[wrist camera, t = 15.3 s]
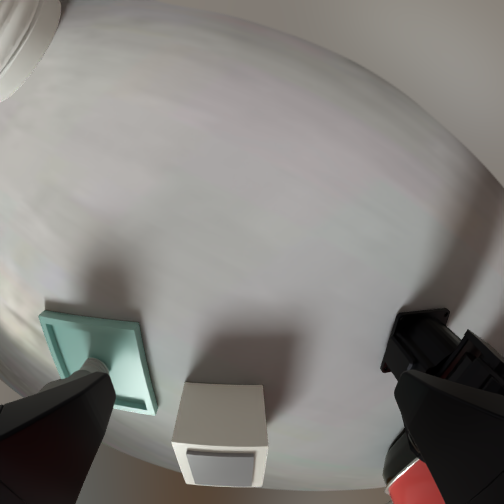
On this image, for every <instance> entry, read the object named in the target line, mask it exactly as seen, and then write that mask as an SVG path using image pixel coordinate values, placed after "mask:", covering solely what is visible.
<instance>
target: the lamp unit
mask: <svg viewBox="0 0 504 504" xmlns="http://www.w3.org/2000/svg"><path fill="white" fill-rule="evenodd" d="M172 445H173V448H174V451H175V454H176V457H177V460H178V463H179V466H180V468H181V471H182V474H183V476H184V479H185V482H186V484H194V485H205V486H221V487H262V484H263V478H264V472H265V466H266V460H267V453H268V447H269V446H268V435H267V425H266V415H265V404H264V394H263V385H225V384H203V383H189V382H185V384H184V388H183V392H182V397H181V401H180V405H179V410H178V414H177V419H176V423H175V428H174V433H173V437H172Z"/></svg>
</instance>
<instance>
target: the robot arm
mask: <svg viewBox="0 0 504 504" xmlns="http://www.w3.org/2000/svg"><path fill="white" fill-rule="evenodd" d="M449 314H450V311H449V310H448V309H447V308H441V309H433V310H423V311H413V312H402V313H399V314H398V315H397V317H396V319H395V323H394V327H393V330H392V333H391V337H390V339H389V342H388V345H387V349H386V352H385V355H384V358H383V362H382V365H381V368H380V369H381V371H382V372H383V373H387V372H392V373H393V374H394V376H395V378H396V379H397V381H398V383H397V385H396V388H395V391H394V396H395V399H396V402H397V404H398V407H399V409H400V411H401V414H402V418H403V422H404V426H405V430H406V435H407V439H408V443H409V447H410V450H411V451H412V452H413V453H414V454H415V455H416V457H417V458H418V459H420V460H421V461H422V462H424V463H426V465H427V467H428V469H429V471H430V473H431V475H432V477H433V479H434V481H435V483H436V485H437V487H438V489H439V491H440V493H441V495H442V498H443V500H444V502H445V504H504V358H503V357H502V356H501V355H500V354H499V353H498V352H497V351H496V350H495V349H493V348H492V347H491V346H490V345H489V344H488V343H487V342H485V341H484V340H482V339H481V338H480V337H478V336H477V335H475V334H474V333H473V332H471V331H470V330H467V331H466V333H465V334H464V335H465V336H464V337H463V339H462V340H461V339H460V338H459V337H458V336H457V335H456V334H455V333H453V332H452V331H451V330H450V329H449V328H448V327H447V326H446V323H447V320H448V317H449ZM402 317H403V318H402ZM401 318H402V319H401ZM400 319H401V320H400ZM115 400H116V392H115V389H114V386H113V384H112V381H111V378H110V375H109V374H108V373H104V372H99V371H96V372H93V373H91V374H88V375H86V376H83V377H80V378H78V379H75V380H73V381H70V382H67V383H64V384H62V385H59V386H56V387H54V388H51V389H48V390H45V391H42V392H39V393H37V394H34V395H31V396H28V397H25V398H22V399H19V400H16V401H13V402H10V403H7V404H5V405H0V504H75V503H76V501H77V498H78V496H79V493H80V491H81V488H82V486H83V483H84V481H85V479H86V476H87V474H88V471H89V469H90V467H91V464H92V462H93V460H94V457H95V455H96V453H97V451H98V448H99V446H100V444H101V442H102V439H103V437H104V435H105V432H106V429H107V426H108V422H109V419H110V416H111V413H112V410H113V406H114V403H115Z"/></svg>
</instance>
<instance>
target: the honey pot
mask: <svg viewBox="0 0 504 504" xmlns="http://www.w3.org/2000/svg"><path fill="white" fill-rule="evenodd" d="M60 16H61V3H60V1H59V0H0V102H2V101H4V100H5V99H7V98H9V97H10V96H11V95H12V94H13V93H14V92H15V91H17V90H18V89H19V88H20V87H21V86H22V84H23V83H24V82H25V81H26V80H27V78H28V77H29V76H30V75H31V74H32V72H33V71H34V69H35V68H36V66H37V65H38V63H39V62H40V61H41V59H42V58H43V56H44V54H45V52H46V50H47V49H48V47H49V45H50V43H51V42H52V39H53V37H54V34H55V32H56V30H57V28H58V24H59V20H60Z"/></svg>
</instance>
